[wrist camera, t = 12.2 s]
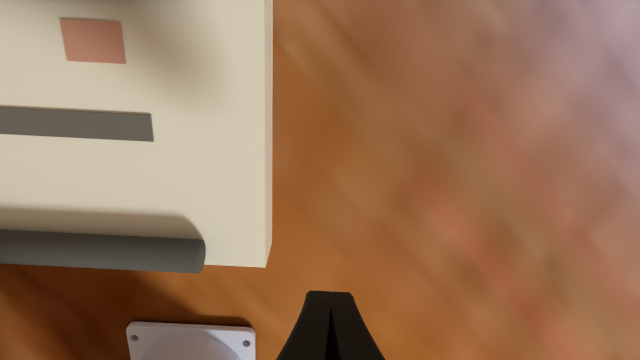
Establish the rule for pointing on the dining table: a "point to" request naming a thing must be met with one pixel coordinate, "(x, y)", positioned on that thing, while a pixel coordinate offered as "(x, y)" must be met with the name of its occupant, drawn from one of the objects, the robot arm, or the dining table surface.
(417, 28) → the dining table surface
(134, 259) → the dark grey guard rails
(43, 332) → the dining table surface
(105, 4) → the panel
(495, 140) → the dining table surface
